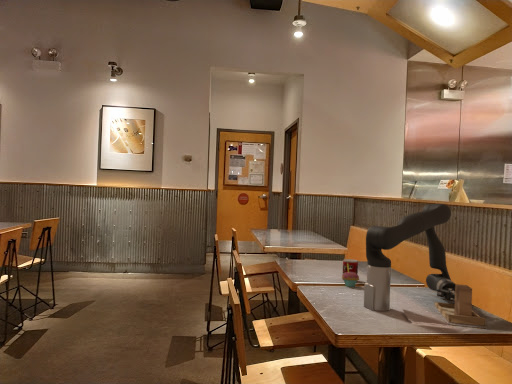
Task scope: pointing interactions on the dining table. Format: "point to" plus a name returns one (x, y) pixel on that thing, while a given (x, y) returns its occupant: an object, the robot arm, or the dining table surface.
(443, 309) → the tray
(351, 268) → the canned food
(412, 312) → the dining table surface
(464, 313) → the walnut block
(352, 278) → the cupcake
